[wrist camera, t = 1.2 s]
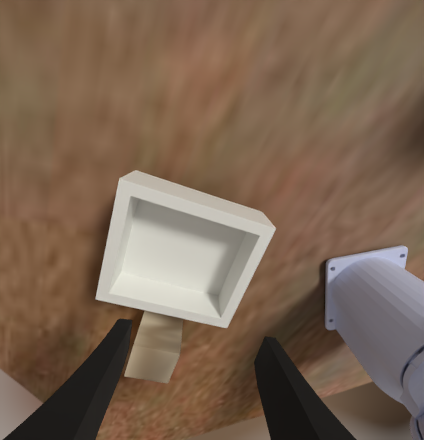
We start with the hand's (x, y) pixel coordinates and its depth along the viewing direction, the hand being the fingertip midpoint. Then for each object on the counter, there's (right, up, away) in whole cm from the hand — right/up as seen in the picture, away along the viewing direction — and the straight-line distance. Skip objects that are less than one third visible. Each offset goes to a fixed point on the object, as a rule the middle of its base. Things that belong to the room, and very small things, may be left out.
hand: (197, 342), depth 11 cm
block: (-5, -4, +12) cm, 13 cm away
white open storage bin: (-2, +5, +8) cm, 10 cm away
